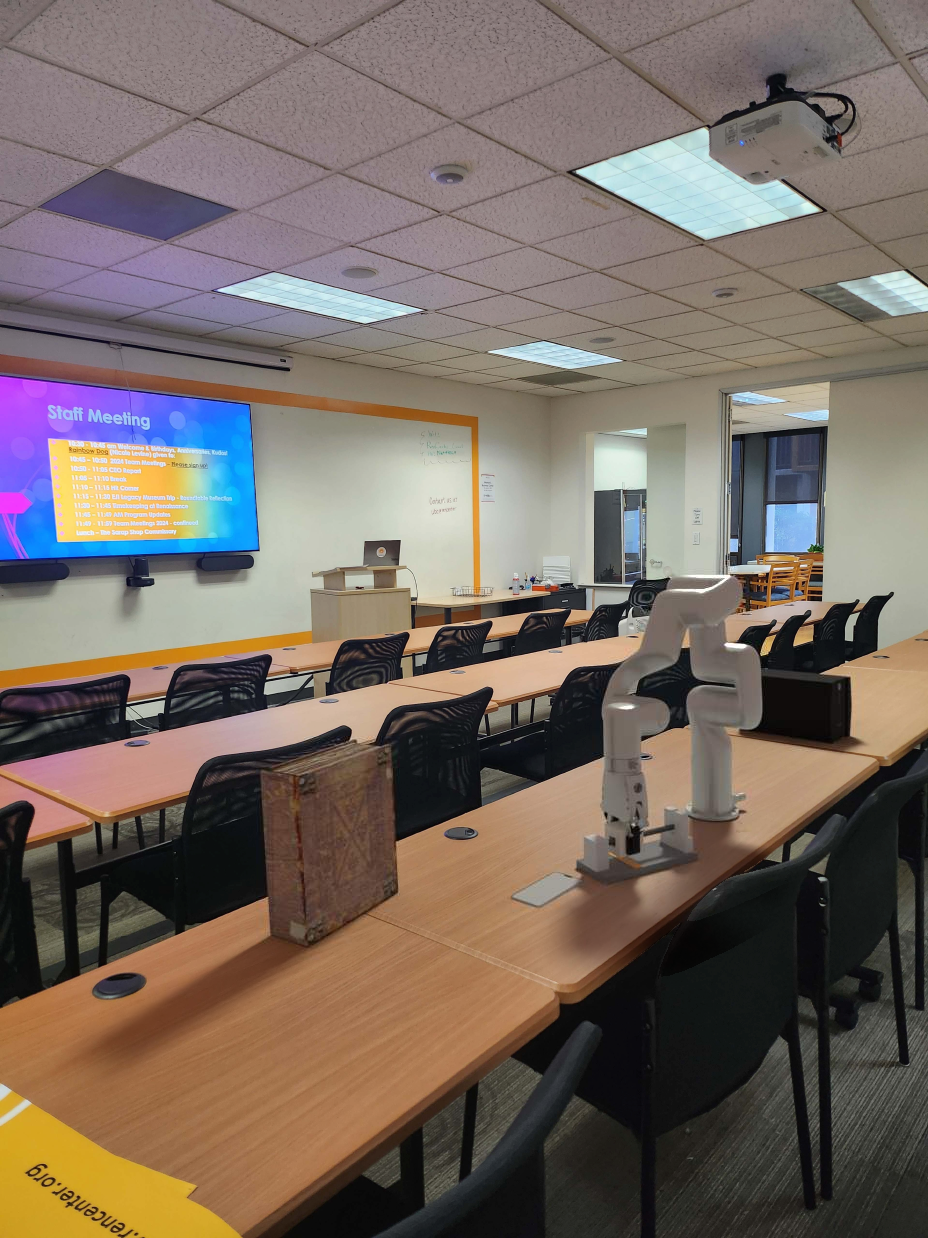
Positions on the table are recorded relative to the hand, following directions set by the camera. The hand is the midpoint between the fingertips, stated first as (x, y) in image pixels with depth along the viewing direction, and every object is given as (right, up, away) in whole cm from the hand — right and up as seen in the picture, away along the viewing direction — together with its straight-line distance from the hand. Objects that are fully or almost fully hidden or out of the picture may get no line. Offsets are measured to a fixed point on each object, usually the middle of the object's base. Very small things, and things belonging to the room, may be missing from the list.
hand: (624, 848), depth 167 cm
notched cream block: (0, -1, 0) cm, 1 cm away
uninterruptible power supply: (+79, +8, +109) cm, 135 cm away
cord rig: (+3, -4, +2) cm, 5 cm away
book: (-57, -8, -16) cm, 60 cm away
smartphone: (-17, -6, -9) cm, 20 cm away
